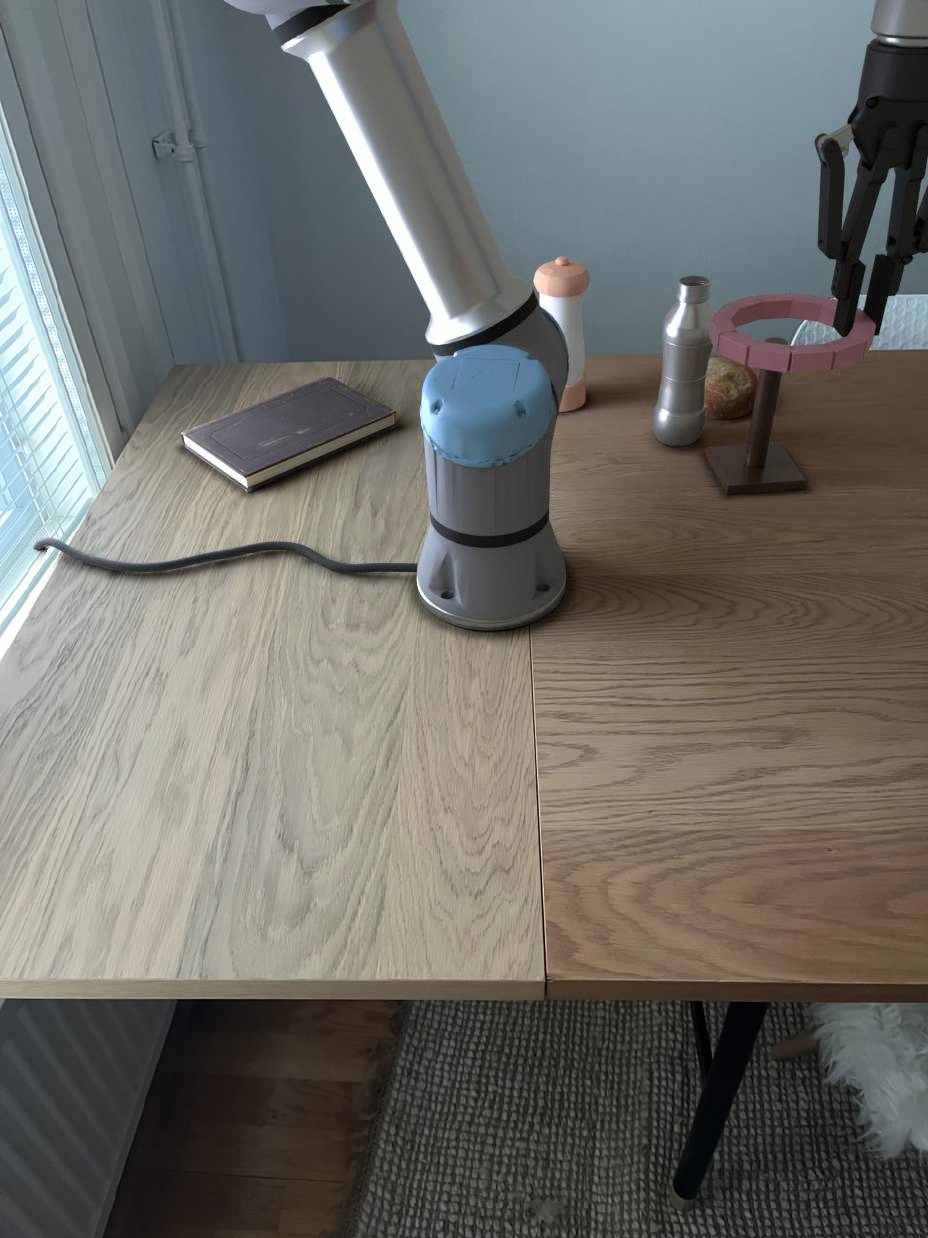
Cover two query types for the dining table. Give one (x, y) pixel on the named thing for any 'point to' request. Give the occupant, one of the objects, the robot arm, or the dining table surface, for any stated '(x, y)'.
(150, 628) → the dining table surface
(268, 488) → the dining table surface
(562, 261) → the salt shaker
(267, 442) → the hardcover book
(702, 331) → the silver bottle
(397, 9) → the robot arm
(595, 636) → the dining table surface
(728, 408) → the bread roll
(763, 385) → the stand
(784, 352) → the ring
